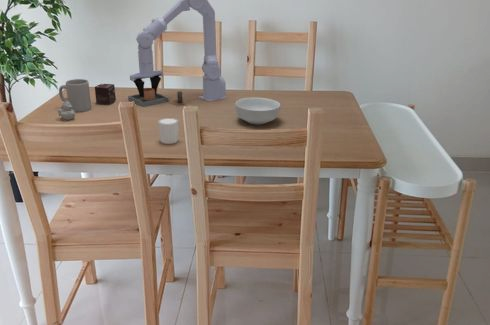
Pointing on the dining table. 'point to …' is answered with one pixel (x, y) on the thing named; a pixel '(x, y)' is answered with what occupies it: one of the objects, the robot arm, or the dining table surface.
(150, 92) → the ring
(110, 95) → the box
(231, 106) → the dining table surface
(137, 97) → the tray
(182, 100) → the stake
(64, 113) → the grey stacked lumpy shape
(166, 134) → the white ribbed cylinder
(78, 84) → the mug
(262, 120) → the cereal bowl
